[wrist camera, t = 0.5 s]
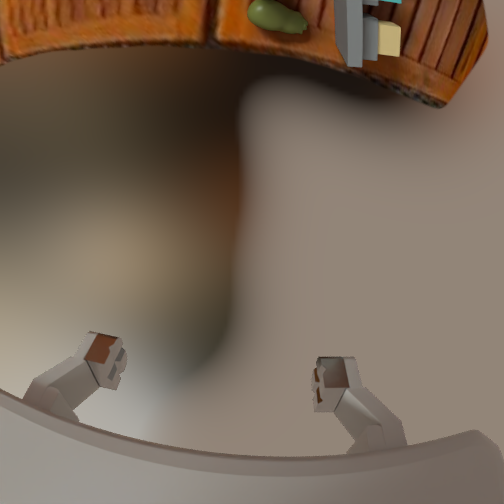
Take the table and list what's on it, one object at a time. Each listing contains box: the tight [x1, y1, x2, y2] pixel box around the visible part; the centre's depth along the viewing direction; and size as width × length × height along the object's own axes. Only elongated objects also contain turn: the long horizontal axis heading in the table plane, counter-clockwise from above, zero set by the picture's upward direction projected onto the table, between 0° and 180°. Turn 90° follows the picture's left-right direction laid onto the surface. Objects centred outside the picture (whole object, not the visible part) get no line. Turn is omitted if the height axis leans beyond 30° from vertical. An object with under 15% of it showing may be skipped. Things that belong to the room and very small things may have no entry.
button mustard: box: [378, 20, 401, 57], centre depth 34 cm, size 5×4×5 cm
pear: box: [247, 0, 308, 34], centre depth 38 cm, size 6×5×10 cm
